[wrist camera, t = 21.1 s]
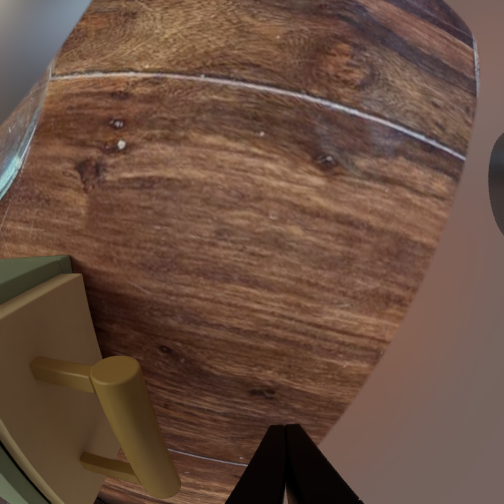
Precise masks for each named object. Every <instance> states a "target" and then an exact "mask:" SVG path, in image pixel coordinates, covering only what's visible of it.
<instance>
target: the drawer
mask: <svg viewBox="0 0 504 504" xmlns="http://www.w3.org/2000/svg"><path fill="white" fill-rule="evenodd" d="M0 446H1V447H2V449H3V450H4V451H5V453H6V454H7V455H8V457H9V458H10V459H11V461H12V462H13V463H14V465H15V466H16V467H17V468H18V470H19V471H20V472H21V473H22V475H23V476H24V477H25V478H26V479H27V481H28V482H29V483H30V484H31V485H32V486H33V487H34V488H35V486H36V487H37V488H38V489H39V490H40V491H41V492H42V493H43V494H44V496H45V497H46V498H47V499H48V500H49V501H50V502H51V503H52V504H93V503H94V501H95V499H96V497H97V495H98V493H99V491H100V489H101V487H102V485H103V482H104V480H105V478H106V476H109V477H113V478H117V479H120V480H124V481H129V482H133V483H137V484H142V486H143V487H144V489H145V490H146V492H147V493H148V494H149V495H151V496H153V497H155V498H159V499H166V498H170V497H173V496H175V495H176V494H177V493H178V492H179V490H180V488H181V481H180V478H179V476H178V474H177V471H176V469H175V466H174V464H173V462H172V459H171V457H170V454H169V451H168V449H167V446H166V444H165V441H164V438H163V435H162V433H161V430H160V427H159V424H158V421H157V418H156V415H155V412H154V409H153V406H152V403H151V400H150V397H149V393H148V390H147V387H146V383H145V380H144V376H143V373H142V369H141V365H140V363H139V362H138V361H137V360H136V359H135V358H132V357H129V356H112V357H108V358H105V359H102V355H101V352H100V349H99V345H98V342H97V338H96V334H95V330H94V327H93V323H92V319H91V314H90V310H89V306H88V301H87V297H86V292H85V287H84V282H83V276H82V274H60V275H58V276H56V277H54V278H52V279H50V280H48V281H46V282H44V283H42V284H40V285H38V286H36V287H34V288H32V289H30V290H28V291H26V292H24V293H22V294H20V295H18V296H16V297H14V298H12V299H10V300H9V301H7V302H5V303H3V304H1V305H0ZM120 448H122V450H123V452H124V454H125V456H126V458H127V460H128V461H129V463H127V462H122V461H118V460H115V458H116V456H117V454H118V452H119V450H120Z"/></svg>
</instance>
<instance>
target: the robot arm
mask: <svg viewBox="0 0 504 504" xmlns="http://www.w3.org/2000/svg"><path fill="white" fill-rule="evenodd" d="M285 484H286V493H287V499H288V504H364V503H363V502H362V501H361V500H359V497H358V496H357V495H356V494H355V493H354V492H353V491H352V489H351V488H350V487H349V486H348V485H347V483H346V482H345V481H344V480H343V479H342V477H341V476H340V475H339V474H338V472H337V471H336V470H335V469H334V467H333V466H332V465H331V464H330V463H329V461H328V460H327V459H326V458H325V456H324V455H323V454H322V453H321V451H320V450H319V449H318V447H317V446H316V445H315V444H314V442H313V441H312V440H311V438H310V437H309V436H308V434H307V433H306V432H305V431H304V429H303V428H302V427H301V425H300V424H287V425H285V426H284V425H271V426H270V427H269V428H268V430H267V432H266V434H265V436H264V438H263V439H262V441H261V443H260V445H259V447H258V449H257V450H256V452H255V454H254V456H253V457H252V459H251V461H250V463H249V464H248V466H247V468H246V470H245V471H244V473H243V475H242V476H241V478H240V480H239V481H238V483H237V485H236V486H235V488H234V490H233V491H232V493H231V494H230V496H229V498H228V499H227V501H226V502H225V504H283V503H284V495H285Z"/></svg>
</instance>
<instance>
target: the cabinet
mask: <svg viewBox="0 0 504 504" xmlns="http://www.w3.org/2000/svg"><path fill="white" fill-rule="evenodd" d="M60 274H73V272H72V267H71V261H70V256H69V255H59V256H41V257H24V258H7V259H0V305H1V304H3V303H5V302H7V301H9V300H10V299H12V298H14V297H16V296H18V295H20V294H22V293H24V292H26V291H28V290H30V289H32V288H34V287H36V286H38V285H40V284H42V283H44V282H46V281H48V280H50V279H52V278H54V277H56V276H58V275H60ZM0 497H2V498H3V499H5V500H6V501H7V502H9V503H10V504H52V503H51V502H50V501H49V500H48V499H47V498H46V497H45V496H44V494H43V493H42V492H41V491H40V490H39V489H38V488H37V487H36V486H35V488H34V487H33V486H32V485H31V484H30V483H29V482H28V481H27V479H26V478H25V477H24V476H23V475H22V473H21V472H20V471H19V470H18V468H17V467H16V466H15V465H14V463H13V462H12V461H11V459H10V458H9V457H8V455H7V454H6V453H5V451H4V450H3V449H2V447H1V446H0Z"/></svg>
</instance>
